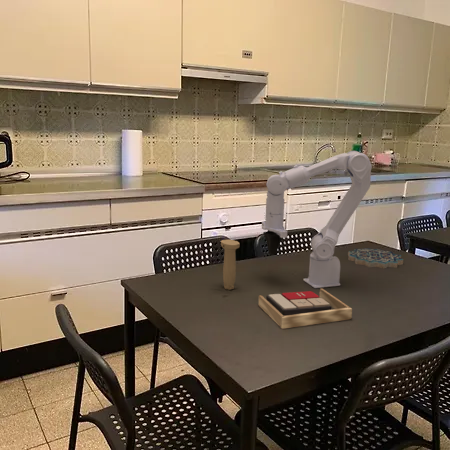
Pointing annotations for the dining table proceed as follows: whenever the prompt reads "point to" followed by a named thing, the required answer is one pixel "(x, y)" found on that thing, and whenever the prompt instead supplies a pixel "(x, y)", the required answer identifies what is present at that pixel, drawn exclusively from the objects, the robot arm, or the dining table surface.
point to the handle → (229, 263)
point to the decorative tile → (375, 258)
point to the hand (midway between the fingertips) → (272, 253)
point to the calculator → (298, 303)
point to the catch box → (336, 314)
